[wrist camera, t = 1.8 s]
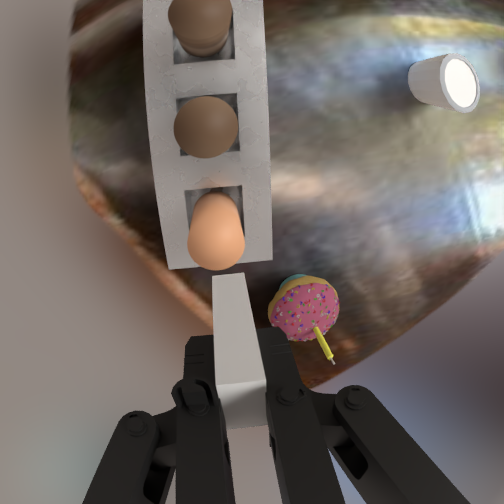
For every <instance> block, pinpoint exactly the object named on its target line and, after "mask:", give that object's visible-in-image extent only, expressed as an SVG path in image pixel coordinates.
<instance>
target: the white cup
mask: <svg viewBox="0 0 504 504" xmlns="http://www.w3.org/2000/svg"><path fill="white" fill-rule="evenodd" d="M408 84H409V87H410V90H411V92H412V93H413V95H414V97H415V98H417V99H418V100H419V101H420V102H423V103H426V104H430V105H434V106H439V107H443V108H447V109H451V110H454V111H458V112H462V113H467V112H471V111H472V110H473V109H474V108H475V107H476V106H477V103H478V100H479V97H480V85H479V80H478V76H477V73H476V72H475V70H474V68H473V66H472V64H471V63H470V62H469V61H468V60H467V59H466V58H465V57H464V56H462V55H460V54H458V53H453V54H446V55H442V56H438V57H434V58H430V59H426V60H423V61H419V62H415V63H414V64H413V65H412V66H411V67H410V69H409V72H408Z"/></svg>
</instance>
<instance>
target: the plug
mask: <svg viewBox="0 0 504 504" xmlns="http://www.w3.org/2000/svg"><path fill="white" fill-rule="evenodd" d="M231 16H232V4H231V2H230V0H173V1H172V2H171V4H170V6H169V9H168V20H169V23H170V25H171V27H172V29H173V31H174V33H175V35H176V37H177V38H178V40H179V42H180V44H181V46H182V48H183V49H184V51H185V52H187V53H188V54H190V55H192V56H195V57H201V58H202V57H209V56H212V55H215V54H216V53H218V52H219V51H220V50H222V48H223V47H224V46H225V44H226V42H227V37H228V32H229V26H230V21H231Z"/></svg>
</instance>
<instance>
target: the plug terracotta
mask: <svg viewBox="0 0 504 504" xmlns="http://www.w3.org/2000/svg"><path fill="white" fill-rule="evenodd" d="M187 248H188V252H189V254H190V256H191V258H192V259H193V261H194V262H195V263H197V264H198V265H199V266H201V267H203V268H205V269H209V270H223V269H226V268H229V267H231V266H232V265H234V264H235V263H236V262H237V261H238V260H239V259H240V258H241V256H242V254H243V252H244V248H245V240H244V235H243V231H242V227H241V222H240V218H239V214H238V210H237V206H236V203H235V201H234V200H233V199H232V198H231V197H230V196H229V195H228V194H226V193H223V192H220V191H212V192H208V193H205V194H204V195H202V196H201V197H200V198H199V199H198V200H197V201H196V203H195V206H194V209H193V214H192V219H191V224H190V230H189V235H188V240H187Z"/></svg>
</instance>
